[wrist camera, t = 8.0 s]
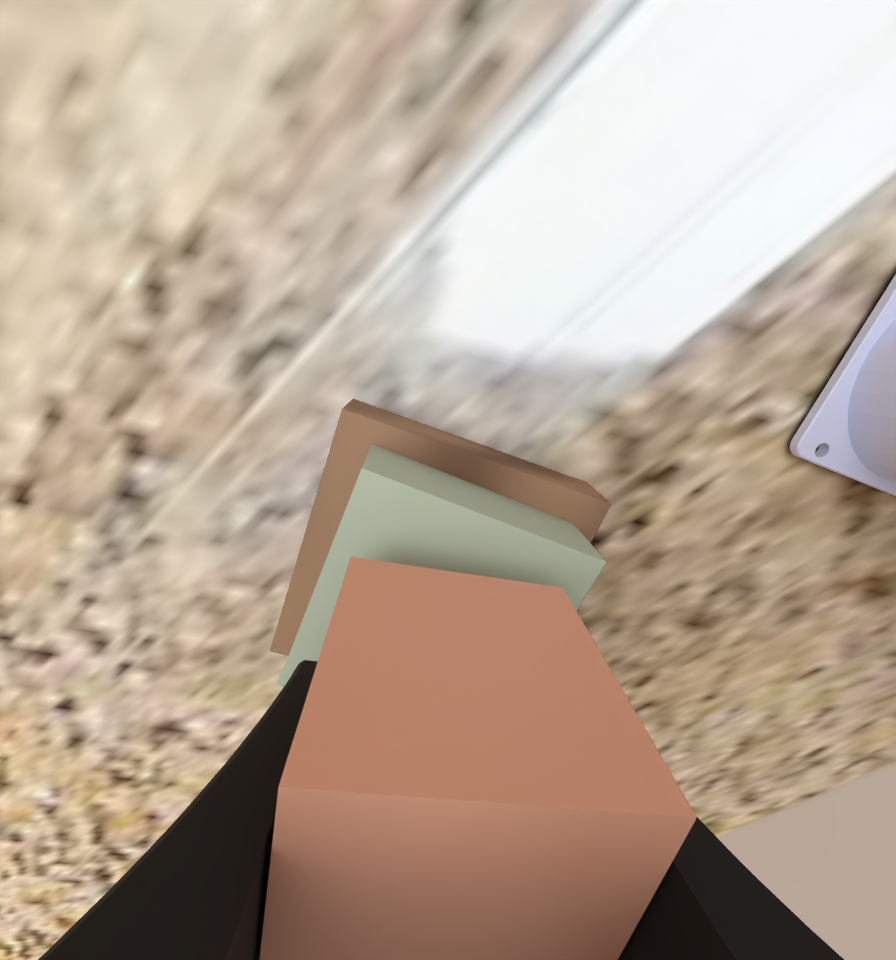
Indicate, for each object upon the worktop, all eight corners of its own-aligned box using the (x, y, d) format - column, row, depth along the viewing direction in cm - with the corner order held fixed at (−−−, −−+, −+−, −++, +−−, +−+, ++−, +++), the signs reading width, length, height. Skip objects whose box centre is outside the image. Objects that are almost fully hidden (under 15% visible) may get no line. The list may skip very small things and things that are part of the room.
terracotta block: (562, 587, 10) (696, 816, 5) (510, 743, 11) (576, 1032, 7) (350, 556, 9) (277, 787, 4) (325, 726, 11) (251, 1032, 6)
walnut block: (582, 479, 16) (611, 503, 13) (493, 660, 18) (503, 707, 16) (354, 397, 14) (342, 408, 12) (290, 607, 17) (270, 651, 14)
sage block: (573, 523, 14) (606, 562, 11) (483, 682, 15) (495, 743, 13) (372, 443, 12) (361, 467, 10) (300, 627, 14) (277, 684, 12)
